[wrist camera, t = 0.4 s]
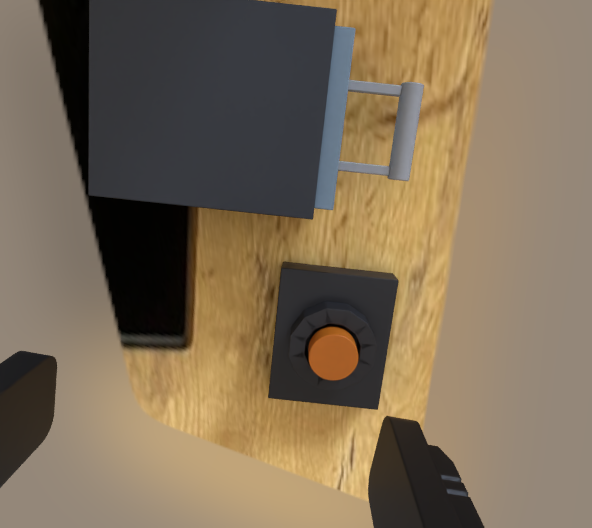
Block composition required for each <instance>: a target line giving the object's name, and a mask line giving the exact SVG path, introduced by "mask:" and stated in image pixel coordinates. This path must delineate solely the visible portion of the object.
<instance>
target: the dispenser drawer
mask: <svg viewBox="0 0 592 528" xmlns="http://www.w3.org/2000/svg"><path fill="white" fill-rule="evenodd" d="M354 36H355V28H349V27H340V26H335V30H334V39H333V47H332V56H331V65H330V74H329V82H328V91H327V100H326V109H325V118H324V126H323V135H322V144H321V153H320V161H319V170H318V179H317V188H316V197H315V205H314V208H318V209H327V210H333V206H334V198H335V190H336V182H337V174H338V170H339V171H348V172H358V173H367V174H376V175H385V176H388V179H393V180H402V181H409V177H410V170H411V164H412V158H413V151H414V145H415V139H416V132H417V126H418V120H419V113H420V107H421V101H422V94H423V88H424V85H423V84H421V83H415V82H405V83H402V84H401V86H400V85H391V84H382V83H372V82H363V81H354V80H349V77H350V68H351V60H352V52H353V44H354ZM348 91H350V92H360V93H369V94H378V95H387V96H397V97H399V96H400V97H399V103H398V110H397V117H396V124H395V131H394V137H393V144H392V151H391V158H390V164H389V166H380V165H371V164H362V163H353V162H343V161H339V158H340V150H341V141H342V133H343V125H344V117H345V109H346V101H347V93H348Z"/></svg>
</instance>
